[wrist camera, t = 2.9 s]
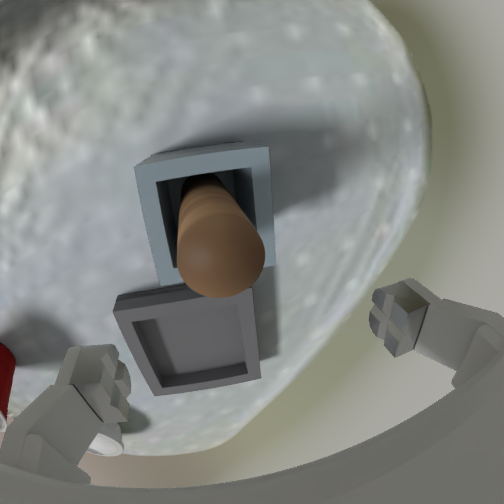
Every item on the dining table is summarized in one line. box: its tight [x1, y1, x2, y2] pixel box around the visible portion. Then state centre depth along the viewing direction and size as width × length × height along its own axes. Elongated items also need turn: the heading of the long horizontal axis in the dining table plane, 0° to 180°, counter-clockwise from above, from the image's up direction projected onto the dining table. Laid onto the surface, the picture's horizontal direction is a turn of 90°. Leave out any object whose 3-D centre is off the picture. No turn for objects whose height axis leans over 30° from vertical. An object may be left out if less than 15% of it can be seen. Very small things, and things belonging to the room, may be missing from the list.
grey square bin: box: [134, 142, 276, 286], centre depth 22 cm, size 8×8×9 cm
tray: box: [113, 285, 261, 396], centre depth 31 cm, size 15×15×3 cm
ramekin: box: [86, 422, 124, 456], centre depth 34 cm, size 11×11×5 cm
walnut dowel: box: [177, 173, 265, 298], centre depth 19 cm, size 4×4×14 cm
